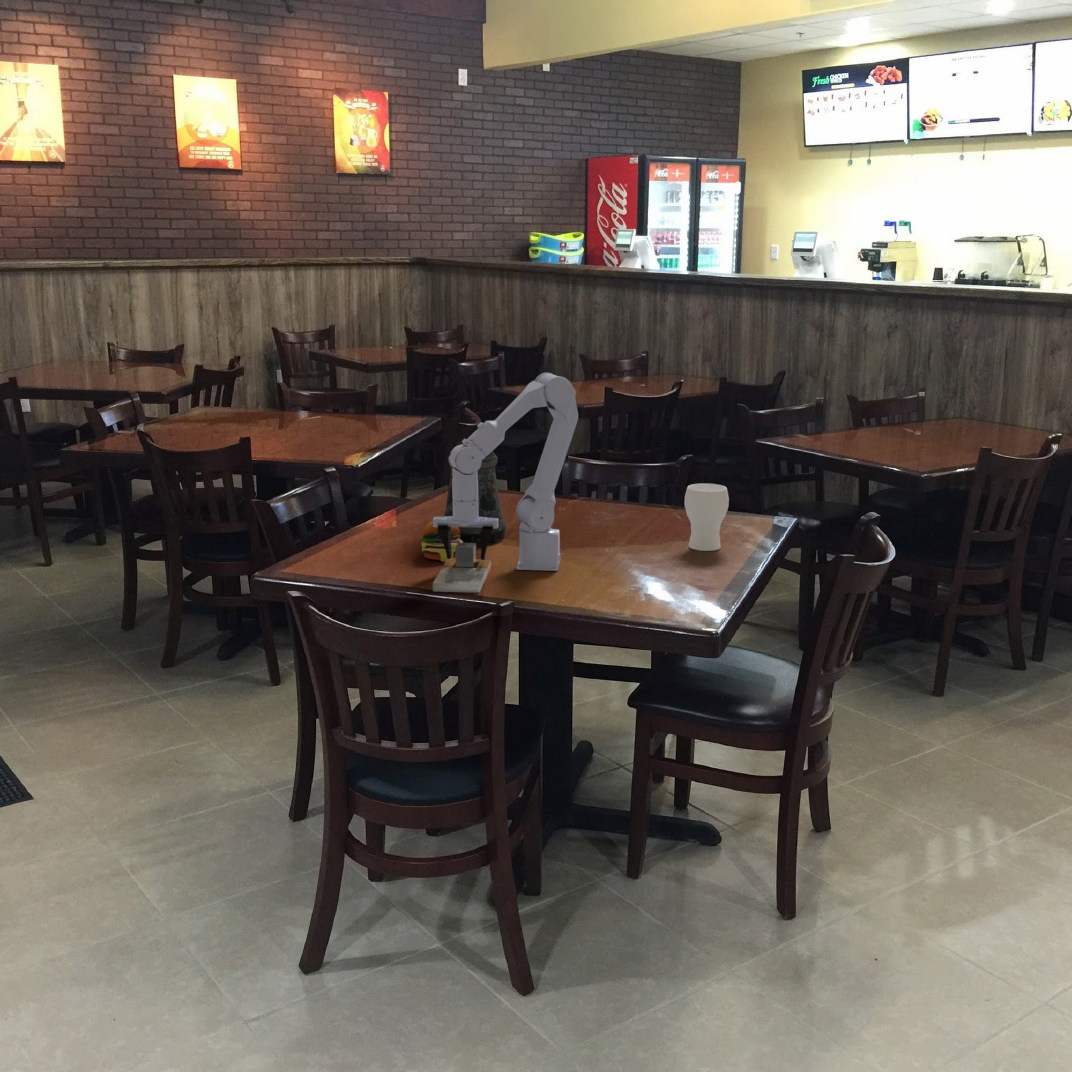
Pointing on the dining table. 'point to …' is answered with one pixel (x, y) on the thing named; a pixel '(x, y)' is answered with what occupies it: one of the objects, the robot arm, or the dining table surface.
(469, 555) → the block
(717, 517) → the cup
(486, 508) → the beer stein
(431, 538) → the cheeseburger
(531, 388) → the robot arm
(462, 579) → the grey flat rectangular block
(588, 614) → the dining table surface
